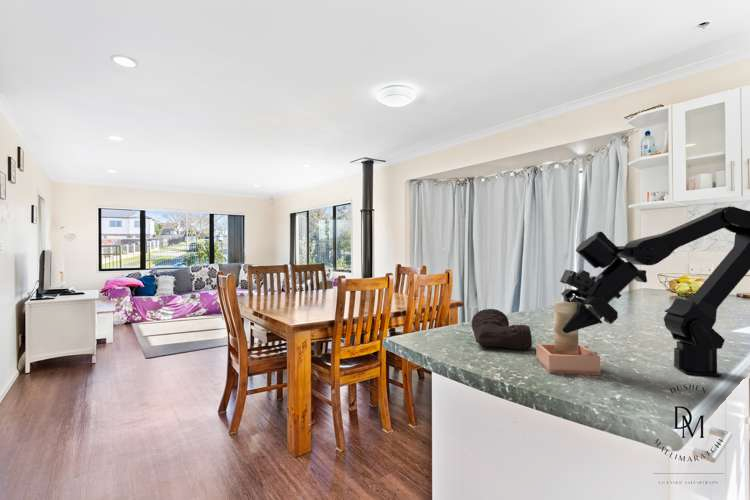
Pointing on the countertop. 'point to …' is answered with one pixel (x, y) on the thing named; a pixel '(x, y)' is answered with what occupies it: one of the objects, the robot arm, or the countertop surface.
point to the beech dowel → (562, 315)
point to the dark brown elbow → (500, 331)
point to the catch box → (568, 361)
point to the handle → (587, 347)
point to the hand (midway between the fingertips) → (560, 329)
